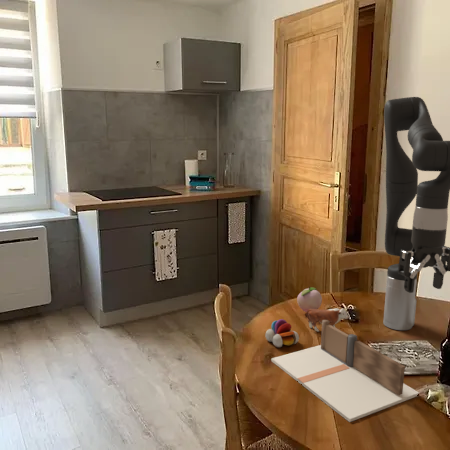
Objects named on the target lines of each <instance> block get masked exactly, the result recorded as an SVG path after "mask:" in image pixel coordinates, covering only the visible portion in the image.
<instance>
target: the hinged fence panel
mask: <svg viewBox="0 0 450 450" xmlns="http://www.w3.org/2000/svg"><path fill="white" fill-rule="evenodd" d="M353 367H355V368H357V369H358V370H360V371H361V372H363V373H364V374H366V375H368V376H369V377H371V378H372V379H374V380H375V381H377V382H379V383H380V384H382V385H383V386H385V387H387V388H388V389H390V390H391V391H393V392H394V393H396V394H398V395H401V394H402V392H403V383H404V382H405V381H404V379H405V372H406V371H405V370H406V366H405V365H403V364H401V363H399V362H398V361H396V360H394V359H393V358H390V357H389V356H387V355H385V354H383V353H382V352H380V351H378V350H376V349H375V348H373V347H371V346H370V345H367V344H366V343H364V342H362V341H361V340H358V339H357V341H355V345H354V359H353Z"/></svg>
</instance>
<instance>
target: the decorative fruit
mask: <svg viewBox="0 0 450 450" xmlns="http://www.w3.org/2000/svg"><path fill="white" fill-rule="evenodd" d="M296 302H297V304H298V307H299V309H301V310H302V311H303V312H305V313H307V311H308V310H309V309H318V310H319V309H320V307H321V306H322V302H323V298H322V295H321V293H320V291H318V290H317V288H315V287H312V286H308V288H305V289H303V290H302V291H301V292H300V293H299V294H298V295H297V298H296Z"/></svg>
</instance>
